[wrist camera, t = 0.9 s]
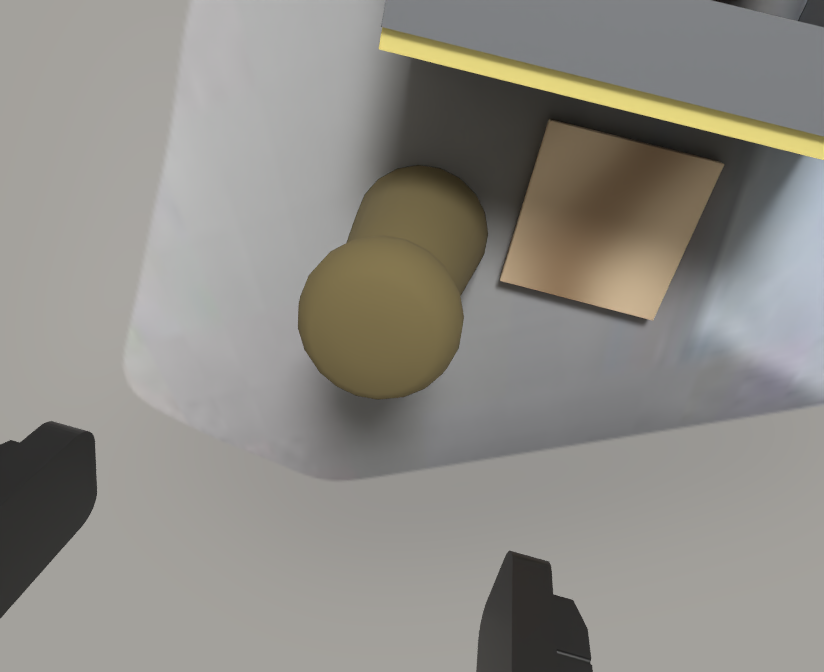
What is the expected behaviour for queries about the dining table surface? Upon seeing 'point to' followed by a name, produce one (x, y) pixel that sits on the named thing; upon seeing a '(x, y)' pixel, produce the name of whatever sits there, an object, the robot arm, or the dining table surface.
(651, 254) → the cork coaster
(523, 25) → the box
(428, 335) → the olive brown knobbed peg
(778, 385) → the dining table surface
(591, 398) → the dining table surface
